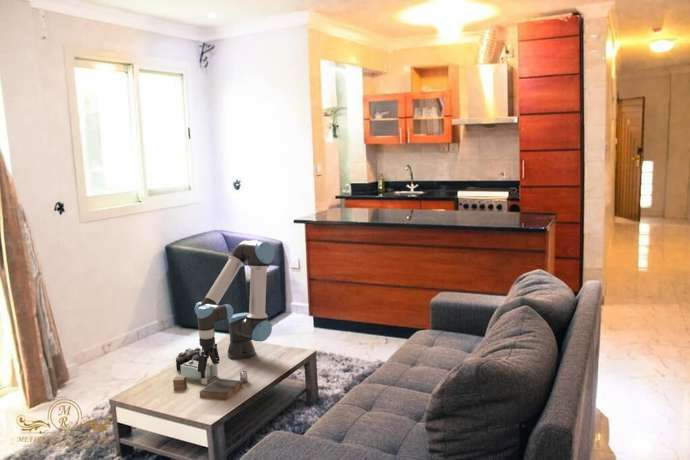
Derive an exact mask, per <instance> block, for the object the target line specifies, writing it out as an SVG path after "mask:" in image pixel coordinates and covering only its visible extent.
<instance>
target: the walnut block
mask: <svg viewBox="0 0 690 460" xmlns="http://www.w3.org/2000/svg"><path fill="white" fill-rule="evenodd" d="M172 384H173V390H174V391H175V390H185V388H186V387H187V379H186V376H181V375H176V376H174V378H173V380H172Z"/></svg>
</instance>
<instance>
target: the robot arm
mask: <svg viewBox="0 0 690 460" xmlns="http://www.w3.org/2000/svg"><path fill="white" fill-rule="evenodd" d="M273 259H275V249H274V247H273V245H272V244H271V243H270V242H268V241H264V240H256V239H255V240H253V239H245V240H243V241H241V242H240V243H238V244H237V245H236V246H235V247H234V248H233V249H232V251H231V252H230V254H229V255H228V260H227V262H226V264H225V265H224V267H223V268H222V270H221V271H220V274H219V275H218V276H217V278H216V279H215V281H214V283H213V284H212V286H211V288H210V289H209V291H208V292H207V294H206V295H205V297H204V299H203V300H202V301H199V302H196V303H195V306H194V312H195V314H196V316H197V327H198V336H199V338H198V339H199V346H200V347H201V352H198V355H199V359H198V372H201V380H202V383H201V385H207V386H208V380H207V371H205V370H206V365H207V363H208V359H209V358H210V361H211V362H212V363H211V364H212V372H213V376H218V377H219V372H218V365H219V364H220V356H219V355H220V354H219V351H218V344H217V343H216V337H215V336H216V335H215V334H216V333H215V324H216V323H221V322H223V321H228V333H229V345H228V349H227V357H228V358H230V359H233V360H235V359H236V360H237V359H238V360H240V359H248V358H250V357H251V358H252V356H255V355H256V349H255V346H254V343H253V341H254V342H259V343H260V342H261V343H262V342H265V341H266V340H267V339H268V338H269V337H270V336H271V334H272V331H273V326H272V323H271V322H270V321H269V316H268V314H267V313H266V299H267V298H266V297H267V295H266V294H267V276H268V275H267V271H268V268H270V265H271V262H273ZM246 263H247V266H248V267H249V268H250V282H249V283H250V284H249V307H248V309H249V310H248V311H249V312H240V313H239V312H238V313H235V314H234V308H233V307H232V305H231V304H229V303H226V304H222V305H219V303H220V302H221V299H222V298H223V297H224V295H225V293H226V292H227V290H228V289H229V288H230V285H231V284H232V282H233V280H234V279H235V277H236V275H237V274H238V272H239V270H240V269H241V267H244V266H245V264H246ZM203 369H204V370H203Z"/></svg>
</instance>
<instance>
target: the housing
mask: <svg viewBox="0 0 690 460" xmlns="http://www.w3.org/2000/svg"><path fill="white" fill-rule="evenodd" d="M212 364H213V363H208V362H207V365H206V370H205V371H207V381H208V380H210V379H212V378H213V377H212V376H213V372H212ZM180 367H181V371H180V376H186V381H187V380H189V381H192V382H196V383H201V384H202V380H201V372H198V361H194V360H190V361H188V362H186V363H184V364H182V365H180ZM203 370H204V369H203ZM211 377H212V378H211ZM209 378H210V379H209Z"/></svg>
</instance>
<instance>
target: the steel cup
mask: <svg viewBox="0 0 690 460" xmlns="http://www.w3.org/2000/svg"><path fill="white" fill-rule="evenodd" d="M239 379H240V380H239V381H243V384H247V383H248V382H249V379H248V371H245V370H243V371H240V372H239Z"/></svg>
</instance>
